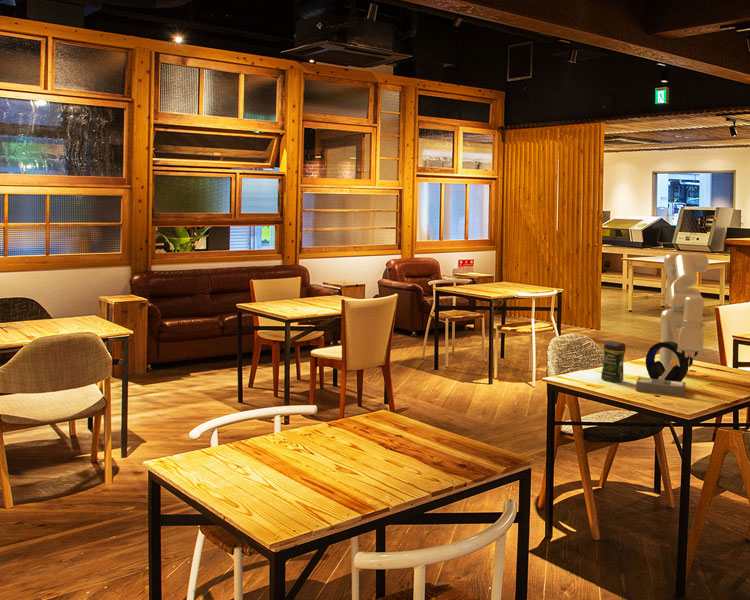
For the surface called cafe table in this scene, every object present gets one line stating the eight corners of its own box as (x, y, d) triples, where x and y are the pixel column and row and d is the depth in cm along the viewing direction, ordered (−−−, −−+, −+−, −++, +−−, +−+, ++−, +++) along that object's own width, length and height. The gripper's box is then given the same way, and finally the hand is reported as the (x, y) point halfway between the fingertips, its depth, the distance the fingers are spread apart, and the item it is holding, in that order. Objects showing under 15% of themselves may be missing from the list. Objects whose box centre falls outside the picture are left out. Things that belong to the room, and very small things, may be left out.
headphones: (687, 388, 352) (691, 345, 349) (679, 390, 348) (683, 346, 345) (651, 380, 366) (654, 338, 363) (643, 381, 362) (646, 339, 359)
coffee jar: (598, 379, 363) (601, 340, 361) (607, 377, 369) (610, 339, 366) (616, 383, 356) (619, 344, 354) (625, 381, 362) (628, 342, 359)
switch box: (638, 385, 354) (639, 372, 353) (685, 391, 346) (686, 377, 345) (635, 390, 344) (636, 377, 343) (684, 396, 336) (685, 382, 335)
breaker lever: (657, 378, 346) (673, 358, 342) (662, 382, 345) (678, 361, 342) (657, 380, 343) (672, 359, 340) (662, 383, 343) (677, 362, 339)
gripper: (710, 325, 337) (707, 366, 339) (674, 322, 343) (670, 362, 345) (710, 327, 330) (707, 369, 333) (673, 324, 336) (670, 365, 338)
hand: (688, 366), depth 339 cm, fingers closed
